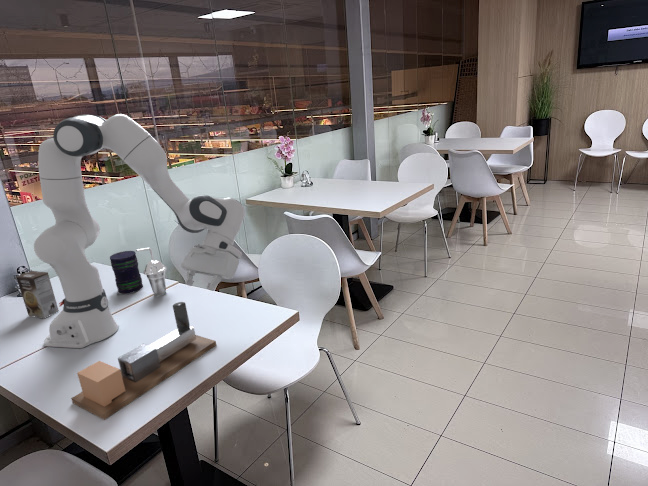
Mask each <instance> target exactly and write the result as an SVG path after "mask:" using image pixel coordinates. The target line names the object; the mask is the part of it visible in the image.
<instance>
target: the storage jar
mask: <svg viewBox="0 0 648 486" xmlns="http://www.w3.org/2000/svg"><path fill="white" fill-rule="evenodd" d="M109 260H110V265H111V269H112V271H113V273H114V278H115V286H116V289H117V293H118V294H121V295H129V294H133V293H137V292H138V291H140V290H142V289H143V287H144V285H143V279H142V276H141V273H140V269H139V262H138V258H137V253H136V250H135V251H134V250H124V251H120V252H116V253H113V254H112V255H110V256H109Z"/></svg>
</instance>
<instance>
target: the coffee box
mask: <svg viewBox="0 0 648 486" xmlns="http://www.w3.org/2000/svg"><path fill="white" fill-rule="evenodd" d="M15 278H16V281H17V284H18V287H19V290H20V292H21V297H22V299H23V303H24V306H25V309H26V312H27V314H28V315H27V316H28V317H32V316H35V317H34V318H38V317H42V318H41V319H44V318H45V317H47V316H49V315H51V316H53V315H54V313H55V314H57V313H59V312H60V311H59V306H58V303H57V299H56V296H55V292H54V289H53V285H52V282H51V278H50V276H49V272H45V271H36V270H31V271H28V272H25V273H22V274H20V275H19V274H18V275H17V276H16V277H15ZM58 311H59V312H58ZM56 312H57V313H56ZM52 314H53V315H52ZM49 317H50V316H49ZM47 318H48V317H47ZM45 319H46V318H45Z"/></svg>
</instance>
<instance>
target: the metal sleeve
mask: <svg viewBox="0 0 648 486" xmlns="http://www.w3.org/2000/svg"><path fill="white" fill-rule="evenodd" d="M117 361H118V365H119V369H121V373H122V377H124V378H126V379H128V380H131V381H133V382H135V383H136V382H138V381H139V380H141V379H142V378H144V377H146V376H147V375H149V374H150V373H152V372H153V371H155V370H157V369H158V368H160V367H161V366H160V362H159V358H158V353H157V349H156V348H154V347H151V346H149V345H148V344H146V343H142V344H140V345H138V346H136V347H135V348H132V349H131V350H129V351H127V352H126V353H124V354H123V355H121V356H118V357H117ZM125 363H127V364H129V365H130V367H131V371H132V375H131V374H129V373H127V371H126V367H125Z"/></svg>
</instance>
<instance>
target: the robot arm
mask: <svg viewBox="0 0 648 486" xmlns="http://www.w3.org/2000/svg"><path fill="white" fill-rule="evenodd" d="M52 134H53V135H52V136H53V137H52V138H48V139H45V140H44V141H42V142H41V143H40V144H39V147H38V155H37V156H38V158H37V159H38V160H37V163H38V166H37V167H38V176H39V181H40V188H41V196H42V202H43V204H44V205H45V206H46V207H47V208H49V209H50V210H51V212H52V214H53V217H54V220H55V224H54V225H52V226H50V227H47V228H46V229H45V230H43V231H42V232H41V233H40V235H38V236H37V237H36V239H35V240H34V243H33V249H34V254H35V255H36V257H37V258H38V259H39V260H40V261H42V262H43V263H46V264H47V265H49V266H51V268H52V270H54V272H55V274H56V275H57V277H58V279H59V281H60V284H61V289H62V291H63V295H64V298H63V299H62V300H61V301H60V302H59V303H58V305H59V306H58V308H60V307H62V306H63V307H62V310H61V311H59V312H58V313H59V314H57V316H55V317H54V319H53V320H52V321H51V323H50V324H49V330H48V331H49V334H48V335H47V336H46V338H45V339H44V340H43V346H44V347H51V348H52V347H53V348H55V347H56V348H71V349H73V348H74V349H83V348H85V347H88V346H89V345H91V344H95V343H97V342H100V341H102V340H105V339H108V338H109V337H111V336H112V335H114V334H115V333H116V332H117V331H118V330H119V325H118V323H117V322H116V321H115V319H114V317H113V315H112V313H111V311H110V307H109V302H108V296H107V294H106V290H105V289H104V288H103V284H102V280H101V276H100V273H99V269H98V268H97V267H96V266H95V265H94V264H91V262H90V261H89V260H88V258H87V256H86V254H85V250H87V249H88V248H90V246H93V244H94V243H95V242H96V240H97V239H98V237H99V236H100V233H101V232H100V230H101V228H100V224H99V223H98V221H97V220H96V219H95V218H94V217H93V216H92V215H91V212H90V210H89V207H88V204H87V202H86V198H85V197H86V196H85V189H84V182H83V175H82V168H81V167H82V166H81V165H82V164H81V163H82V158H83V157H84V156H88V155H89V156H90V155H94V154H96V153H98V152H99V151H102V150H104V149H108V150H110V151H112V152H113V153H114V154H116V155H117V156H118V157H119V158H120V159H121V161H123V162H124V163H125V165H127V166H128V167H129V168H130V169H131V170H132V171H133V172H134V173H136V174H137V175H138V176H139V177H140V178H141V179H142V180H143V181H144V182H145V183H147V185H149V187H150V188H151V189H152V190H153V191H154V192H155V194H156V195H157V196H158V197H160V199H161V200H162V201H163V203H165V204H166V205H167V207H168V208H169V209H170V210H171V211H172V213H174V215H175V218H176V220H177V222H178V224H179V227H181V228H182V229H183V230H184V231H186V232H188V233H191V234H198V233H200V232H203V231H204V230H205V229H206V231H207V233H206V235H205V238H204V239H203V242H202V243H201V244H199V243H196V244H195V245H193V246H192V247H191V248H190V249H189V251H187V252H186V254H185V257H184V258H183V259H182V261H181V268H182V269H183V270H185V271H186V279H185V280H186V281H185V285H187V286H189V287H192V286H193V285H194V282H195V281H194V278H193V277H195V275H196V274H200V275H205V276H210V277H213V280H211V282H208V283H207V286H206V289H207V290H208V291H212V292H213V291H215V288H216V286H218V284H220V283H221V282H222V279H226V280H231V279H233V277H235V275H236V272H237V270H238V266H239V264H240V259H241V258H242V256H243V253H242V252H241V250H239V249H238V248H236V247H235V246H234V244H235V239H236V236H237V235H238V234H239V232H240V231H241V230H240V229H241V228H242V225H243V222H244V219H245V215H246V210H245V207H244V206H243V204H242V203H241V202H239V200H237V199H236V198H235V199H234V198H233V197H226V198H224V197H223V198H219V197H214V196H210V195H207V194H199V195H196V196H195V197H193V198H192V199H191V198H188V196H187V195H186V194H185V193H184V192H183V191H182V190H181V188H179V187H178V186H177V185H176V183H175V182H174V181H173V180H172V178H171V177H170V174H169V170H168V157H167V154H166V151H165V150H164V149H163V147H162V145H160V143H159V141H157V140H156V139H155V138H154V137H153V136H152V134H150V133H149V132H148V131H147V130H146V129H144V127H143V126H141V125H140V124H139V123H138V122H136V121H135V120H133V119H132V118H131V117H129V116H128V115H126V114H122V113H117V114H115V115H112V116H110V117H109V118H107V119H105V118H103V117H102V116H100V115H96V114H79V115H75V116H73V117H69V118H64V119H63V120H61V121H60V122H59V123H57V125H56V126H55V127H54V129H53V133H52Z"/></svg>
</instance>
